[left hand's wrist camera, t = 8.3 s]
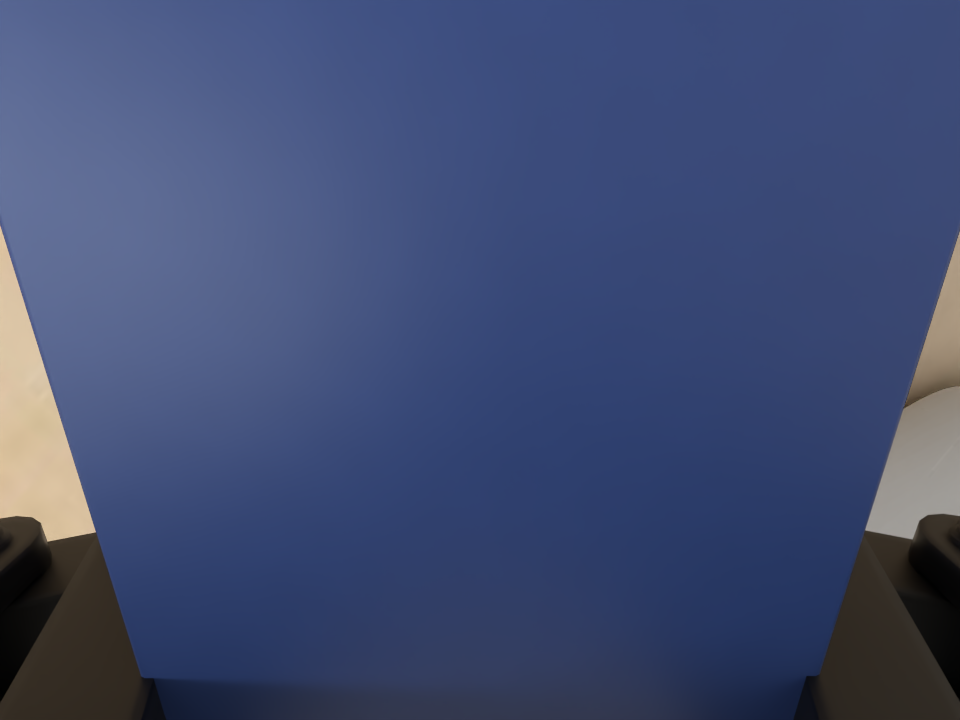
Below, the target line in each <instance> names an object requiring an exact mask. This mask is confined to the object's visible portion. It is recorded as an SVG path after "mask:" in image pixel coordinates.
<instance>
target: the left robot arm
mask: <svg viewBox="0 0 960 720" xmlns="http://www.w3.org/2000/svg"><path fill="white" fill-rule="evenodd" d="M0 720H166V718H165V714H164V711H163V708H162V705H161V701H160V698H159V695H158V691H157V688H156V685H155V682H154V678H144V677H142V676H141V674H140V671H139V668H138V665H137V662H136V658H135V655H134V652H133V649H132V646H131V642H130V639H129V636H128V633H127V629H126V626H125V623H124V620H123V617H122V613H121V610H120V607H119V604H118V601H117V597H116V594H115V591H114V588H113V585H112V581H111V578H110V575H109V572H108V569H107V565H106V562H105V559H104V556H103V553H102V549H101V546H100V543H99V540H98V537H97V533H91V534H86V535H80V536H75V537H70V538H65V539H60V540H54V541H49V542H47V539H46V537H45V534H44V531H43V528H42V526H41V523H40V522H38V521H37V520H35V519H34V518H32V517H20V516H15V517H8V518H1V519H0ZM793 720H960V516H956V515H949V514H933V515H927V516H925V517H924V518H922V519H921V520H919V523H918V526H917V529H916V531H915V534H914V537H913V539H908V538H903V537H898V536H892V535H887V534H882V533H876V532H871V531H866V530H865V532H864V535H863V538H862V541H861V545H860V548H859V551H858V554H857V557H856V560H855V564H854V567H853V570H852V573H851V576H850V579H849V583H848V586H847V589H846V592H845V595H844V598H843V602H842V605H841V608H840V611H839V614H838V617H837V621H836V624H835V627H834V630H833V633H832V636H831V640H830V643H829V646H828V649H827V652H826V655H825V658H824V662H823V665H822V668H821V671H820V674H819V675H817V676H806V679H805V683H804V686H803V689H802V692H801V696H800V699H799V702H798V706H797V709H796V712H795V716H794V719H793Z"/></svg>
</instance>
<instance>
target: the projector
mask: <svg viewBox="0 0 960 720" xmlns="http://www.w3.org/2000/svg"><path fill="white" fill-rule="evenodd" d="M933 514H949V515H956V516H960V386H955V387H950V388H946V389H942V390H939V391H937V392H935V393H932V394H930V395H928V396H926V397H924V398H922V399H920V400H918V401H916V402H914V403H913V404H911V405H909V406H908V407H906V408H904V409H903V412H902V415H901V418H900V421H899V424H898V428H897V431H896V434H895V437H894V440H893V443H892V447H891V450H890V453H889V456H888V459H887V462H886V466H885V469H884V472H883V475H882V478H881V481H880V485H879V488H878V491H877V494H876V497H875V500H874V504H873V507H872V510H871V513H870V516H869V519H868V523H867V526H866V529H865V530H866V531H871V532H876V533H882V534H887V535H892V536H898V537H903V538H908V539H913V537H914V534H915V531H916V529H917V526H918V523H919V520H921V519H922V518H924V517H925V516H927V515H933Z"/></svg>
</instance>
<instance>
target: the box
mask: <svg viewBox="0 0 960 720" xmlns="http://www.w3.org/2000/svg"><path fill="white" fill-rule="evenodd" d="M0 226H1V229H2V232H3V235H4V238H5V242H6V245H7V248H8V251H9V254H10V258H11V261H12V264H13V267H14V270H15V274H16V277H17V280H18V283H19V286H20V290H21V293H22V296H23V299H24V302H25V306H26V309H27V312H28V315H29V319H30V322H31V325H32V328H33V331H34V335H35V338H36V341H37V344H38V347H39V351H40V354H41V357H42V360H43V363H44V367H45V370H46V373H47V376H48V379H49V383H50V386H51V389H52V392H53V395H54V399H55V402H56V405H57V408H58V411H59V415H60V418H61V421H62V424H63V428H64V431H65V434H66V437H67V440H68V444H69V447H70V450H71V453H72V456H73V460H74V463H75V466H76V469H77V472H78V476H79V479H80V482H81V485H82V488H83V492H84V495H85V498H86V501H87V504H88V508H89V511H90V514H91V517H92V520H93V524H94V527H95V530H96V533H97V537H98V540H99V543H100V546H101V549H102V553H103V556H104V559H105V562H106V565H107V569H108V572H109V575H110V578H111V581H112V585H113V588H114V591H115V594H116V597H117V601H118V604H119V607H120V610H121V613H122V617H123V620H124V623H125V626H126V629H127V633H128V636H129V639H130V642H131V646H132V649H133V652H134V655H135V658H136V662H137V665H138V668H139V671H140V674H141V676H142V677H144V678H154V682H155V685H156V688H157V691H158V695H159V698H160V701H161V705H162V708H163V711H164V714H165V718H166V720H793V719H794V716H795V712H796V709H797V706H798V702H799V699H800V696H801V692H802V689H803V686H804V683H805V679H806V676H817V675H819V674H820V671H821V668H822V665H823V662H824V658H825V655H826V652H827V649H828V646H829V643H830V640H831V636H832V633H833V630H834V627H835V624H836V621H837V617H838V614H839V611H840V608H841V605H842V602H843V598H844V595H845V592H846V589H847V586H848V583H849V579H850V576H851V573H852V570H853V567H854V564H855V560H856V557H857V554H858V551H859V548H860V545H861V541H862V538H863V535H864V532H865V529H866V526H867V523H868V519H869V516H870V513H871V510H872V507H873V504H874V500H875V497H876V494H877V491H878V488H879V485H880V481H881V478H882V475H883V472H884V469H885V466H886V462H887V459H888V456H889V453H890V450H891V447H892V443H893V440H894V437H895V434H896V431H897V428H898V424H899V421H900V418H901V415H902V412H903V409H904V405H905V402H906V399H907V396H908V393H909V390H910V387H911V383H912V380H913V377H914V374H915V371H916V368H917V364H918V361H919V358H920V355H921V352H922V349H923V345H924V342H925V339H926V336H927V333H928V330H929V326H930V323H931V320H932V317H933V314H934V311H935V307H936V304H937V301H938V298H939V295H940V292H941V288H942V285H943V282H944V279H945V276H946V273H947V270H948V266H949V263H950V260H951V257H952V254H953V251H954V247H955V244H956V241H957V238H958V235H959V232H960V0H0Z"/></svg>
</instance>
